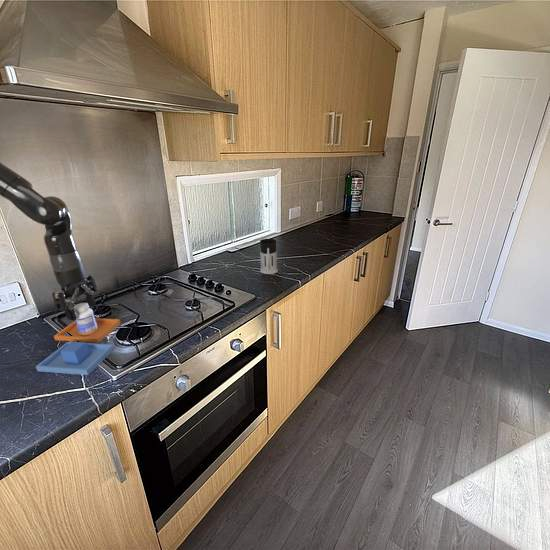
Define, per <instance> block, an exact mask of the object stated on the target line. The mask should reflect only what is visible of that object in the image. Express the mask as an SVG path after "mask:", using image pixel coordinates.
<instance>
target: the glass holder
mask: <svg viewBox="0 0 550 550" xmlns="http://www.w3.org/2000/svg"><path fill="white" fill-rule="evenodd" d="M259 246H260V247H259V249H260V250H259V252H260V253H259V254H260V255H259V257H260V270H259V271H260V273H261V274H264V275H273V274H276V273H278V272H279V268H278V249H277V240H276V239H275V238H263V239H260V240H259Z"/></svg>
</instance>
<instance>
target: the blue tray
mask: <svg viewBox="0 0 550 550" xmlns="http://www.w3.org/2000/svg"><path fill="white" fill-rule="evenodd" d="M71 342H72V341H66V342H65V343H64V344H63V345H61V346H60V347H58V349H56V350H55V351H54V352H52V353H51V354H50V355H48V356H47V357H46V358H45V359H43V360H41V362H39V363H38V364H37V365H36V366H35V369H36V370H37V372H44V373H55V374H68V375H80V376H81V375H82V376H89V375H90V374H91V373H92V372H93V371H94V370H95V369H96V368H98V366H99V365H100V364H101V363H102V362H103V361H104V360H105V359H106V358H107V357H108V356H109V355H110V354H111V353H112V352H114V350H115V345H114V344H109V343H93V342H86V344H87V347H88V349H89V352H90V356H89V357H87V358H86V359H85V360H84V361H83V362H82V363H81V364H80V365H74V364H65V362H64V359H63V357H62V354H61V352H60V351H61V350H62V349H64V348H65V347H66V346H68V345H69V344H70V343H71Z"/></svg>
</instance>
